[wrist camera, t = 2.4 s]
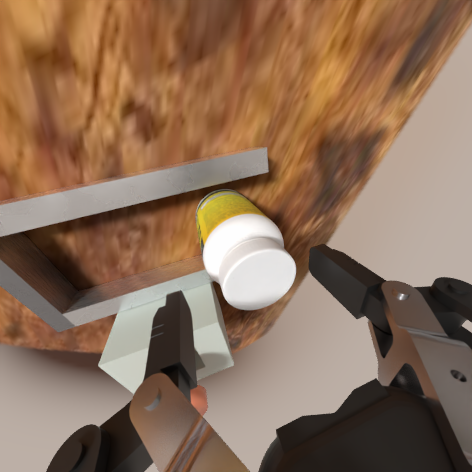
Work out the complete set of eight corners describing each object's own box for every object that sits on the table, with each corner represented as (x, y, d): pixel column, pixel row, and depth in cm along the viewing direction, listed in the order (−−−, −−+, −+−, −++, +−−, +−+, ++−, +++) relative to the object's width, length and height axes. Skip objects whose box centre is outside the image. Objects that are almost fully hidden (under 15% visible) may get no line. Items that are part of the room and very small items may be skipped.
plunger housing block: (206, 266, 22) (218, 321, 15) (221, 310, 27) (235, 367, 20) (125, 292, 21) (98, 365, 14) (156, 333, 25) (146, 404, 18)
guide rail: (253, 146, 17) (266, 147, 14) (264, 248, 23) (274, 261, 21) (-30, 207, 13) (-80, 222, 11) (74, 307, 20) (58, 332, 17)
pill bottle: (182, 209, 18) (183, 282, 8) (232, 175, 18) (289, 212, 8) (215, 248, 21) (242, 332, 12) (257, 220, 21) (318, 283, 12)
